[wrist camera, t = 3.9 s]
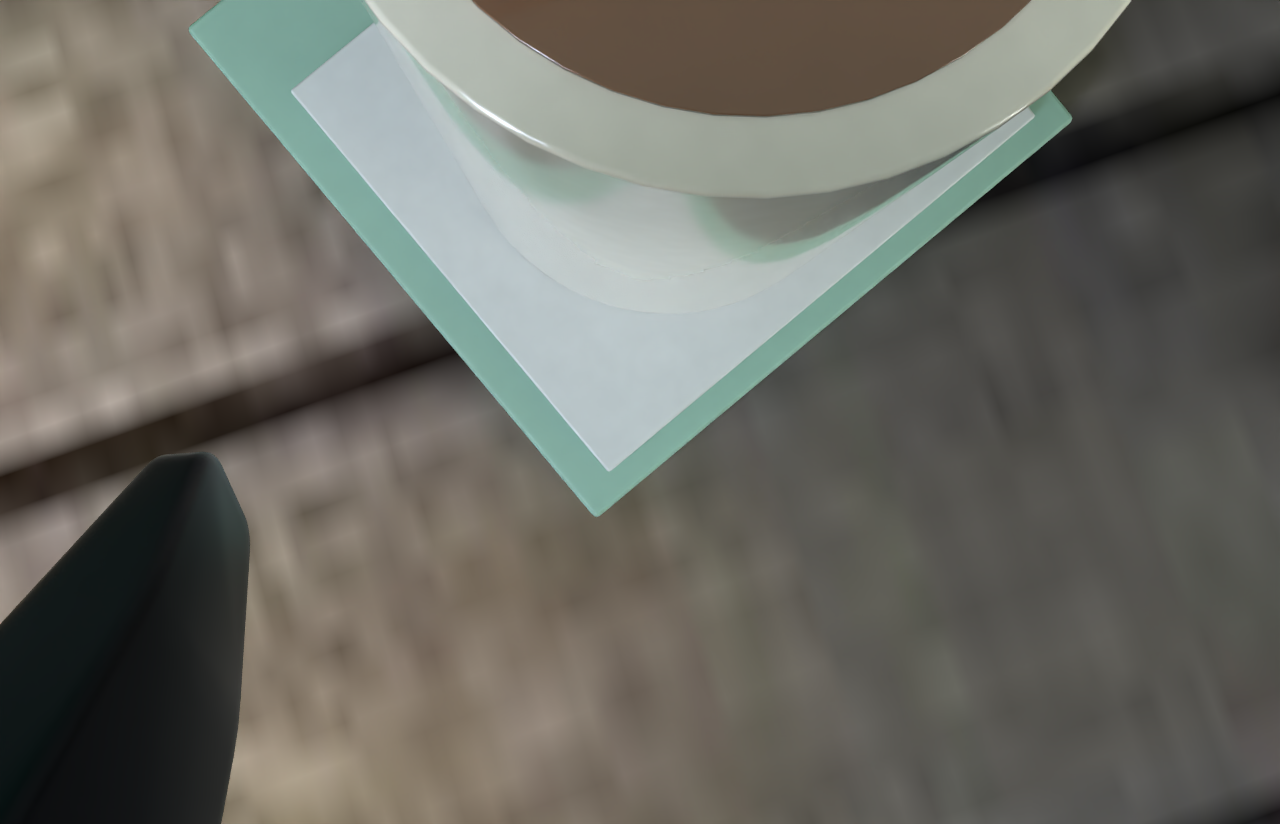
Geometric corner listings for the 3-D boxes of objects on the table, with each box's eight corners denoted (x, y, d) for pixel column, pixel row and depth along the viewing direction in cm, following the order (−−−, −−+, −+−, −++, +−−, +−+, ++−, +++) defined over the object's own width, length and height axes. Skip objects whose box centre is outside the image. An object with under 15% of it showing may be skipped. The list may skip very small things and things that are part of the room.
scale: (596, 512, 20) (595, 521, 19) (208, 50, 20) (175, 19, 18) (1049, 134, 21) (1085, 112, 19) (672, -327, 20) (678, -390, 19)
